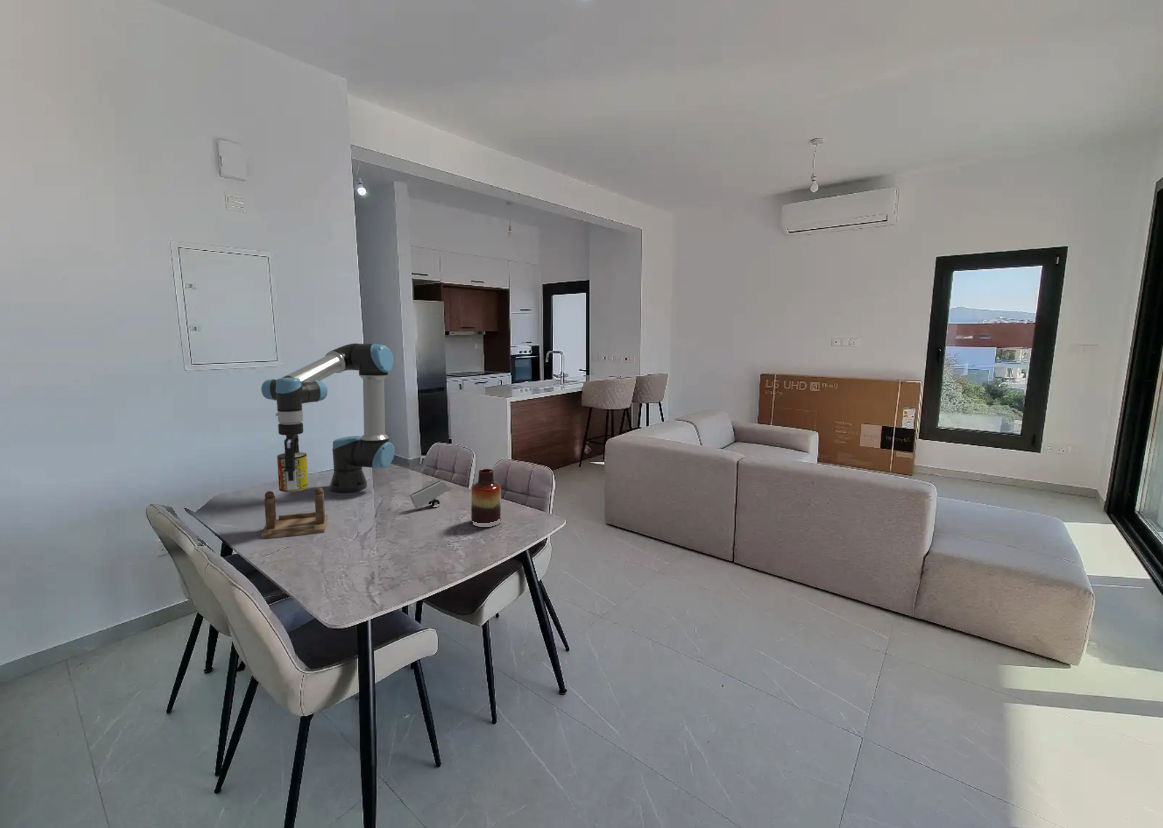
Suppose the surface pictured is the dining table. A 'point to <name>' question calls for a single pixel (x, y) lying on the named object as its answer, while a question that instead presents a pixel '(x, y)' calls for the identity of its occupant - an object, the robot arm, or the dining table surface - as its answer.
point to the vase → (485, 498)
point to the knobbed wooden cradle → (294, 519)
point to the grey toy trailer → (428, 494)
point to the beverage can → (300, 472)
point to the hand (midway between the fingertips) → (294, 485)
